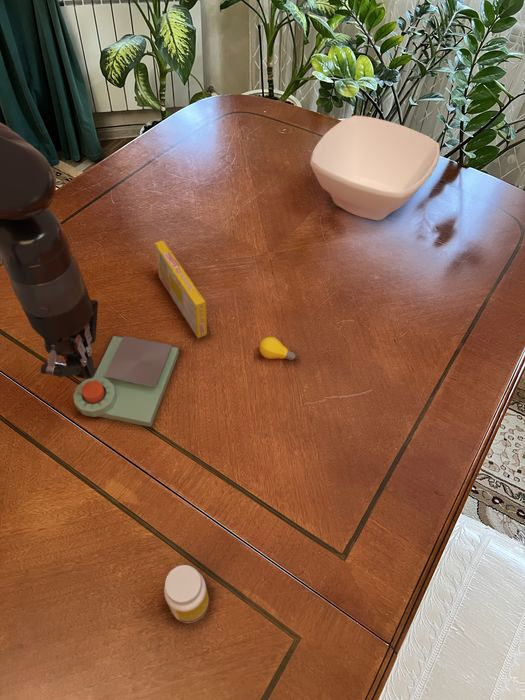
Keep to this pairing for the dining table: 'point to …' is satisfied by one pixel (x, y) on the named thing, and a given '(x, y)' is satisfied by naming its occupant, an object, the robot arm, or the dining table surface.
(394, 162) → the bowl
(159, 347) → the scale pan
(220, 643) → the dining table surface
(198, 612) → the supplement bottle
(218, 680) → the dining table surface
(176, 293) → the candy box
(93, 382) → the power button
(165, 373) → the scale
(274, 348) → the light bulb
